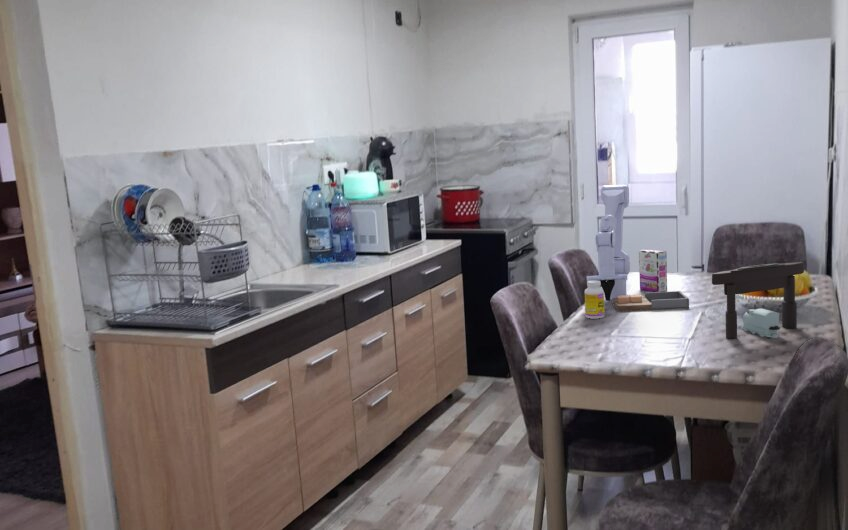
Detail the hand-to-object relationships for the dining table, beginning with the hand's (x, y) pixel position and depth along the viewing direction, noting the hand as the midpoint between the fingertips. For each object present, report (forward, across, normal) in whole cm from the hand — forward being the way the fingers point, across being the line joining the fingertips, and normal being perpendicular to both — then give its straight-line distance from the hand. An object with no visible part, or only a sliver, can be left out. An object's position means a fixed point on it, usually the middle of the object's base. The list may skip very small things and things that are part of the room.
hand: (607, 300), depth 286 cm
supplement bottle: (+3, -6, -14) cm, 16 cm away
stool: (+3, +40, -44) cm, 60 cm away
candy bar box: (+3, +22, +27) cm, 35 cm away
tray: (+3, +21, 0) cm, 21 cm away
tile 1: (+1, +6, 0) cm, 6 cm away
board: (+3, +9, 0) cm, 9 cm away
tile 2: (+1, +10, 0) cm, 10 cm away
